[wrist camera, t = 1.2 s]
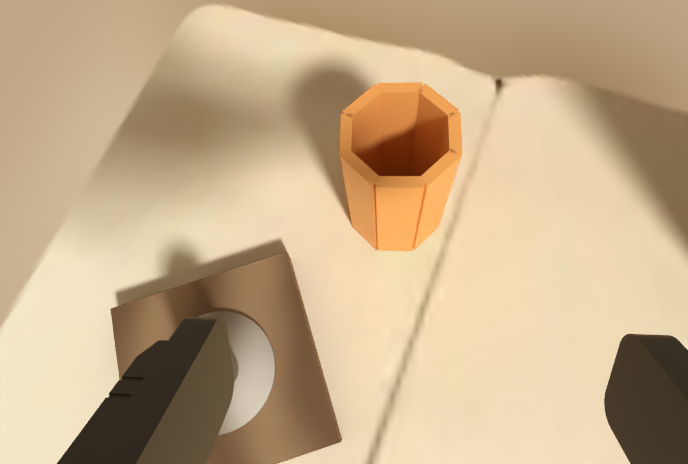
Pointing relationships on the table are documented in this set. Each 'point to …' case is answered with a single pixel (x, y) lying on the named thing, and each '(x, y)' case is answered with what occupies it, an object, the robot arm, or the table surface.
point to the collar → (399, 162)
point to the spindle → (247, 358)
